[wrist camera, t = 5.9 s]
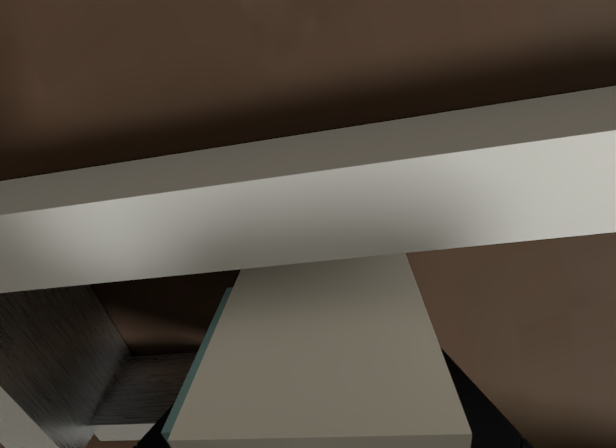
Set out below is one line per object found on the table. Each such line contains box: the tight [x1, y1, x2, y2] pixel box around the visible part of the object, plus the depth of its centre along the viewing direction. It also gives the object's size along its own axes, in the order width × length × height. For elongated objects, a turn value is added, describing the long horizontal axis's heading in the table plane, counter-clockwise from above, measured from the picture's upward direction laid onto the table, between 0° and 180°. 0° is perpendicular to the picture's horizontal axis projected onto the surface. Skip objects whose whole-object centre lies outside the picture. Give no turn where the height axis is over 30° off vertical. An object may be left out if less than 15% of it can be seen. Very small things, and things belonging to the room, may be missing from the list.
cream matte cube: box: [161, 253, 472, 448], centre depth 8 cm, size 5×5×5 cm
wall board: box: [0, 86, 616, 293], centre depth 8 cm, size 22×2×4 cm, turn 99°
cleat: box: [0, 284, 197, 448], centre depth 11 cm, size 7×8×4 cm
